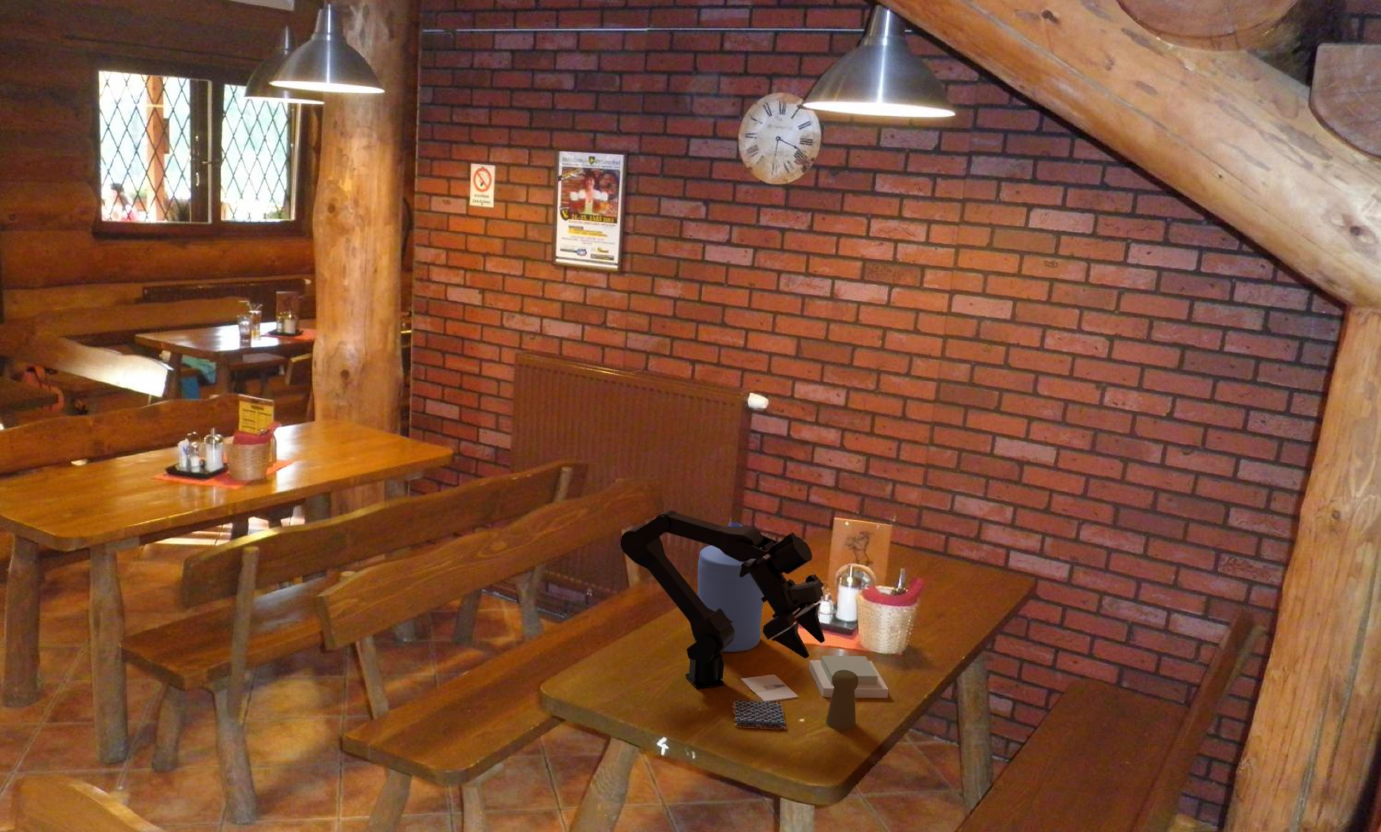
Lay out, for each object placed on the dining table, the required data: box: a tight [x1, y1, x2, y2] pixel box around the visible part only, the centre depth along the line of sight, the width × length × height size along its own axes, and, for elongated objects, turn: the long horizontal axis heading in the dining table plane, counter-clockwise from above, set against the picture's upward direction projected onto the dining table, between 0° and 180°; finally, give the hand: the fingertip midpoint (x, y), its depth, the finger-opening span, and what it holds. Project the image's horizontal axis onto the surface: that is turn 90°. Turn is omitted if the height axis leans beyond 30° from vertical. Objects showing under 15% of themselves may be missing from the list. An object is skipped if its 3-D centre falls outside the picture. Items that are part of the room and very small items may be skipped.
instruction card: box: [740, 674, 799, 703], centre depth 250 cm, size 8×11×1 cm
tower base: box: [808, 655, 889, 699], centre depth 255 cm, size 14×14×4 cm
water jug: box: [696, 522, 767, 653], centre depth 271 cm, size 16×16×28 cm
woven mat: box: [732, 698, 787, 731], centre depth 237 cm, size 10×11×2 cm
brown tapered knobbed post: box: [825, 670, 858, 731], centre depth 235 cm, size 6×6×11 cm
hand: (815, 649), depth 238 cm, fingers open, 9 cm apart
